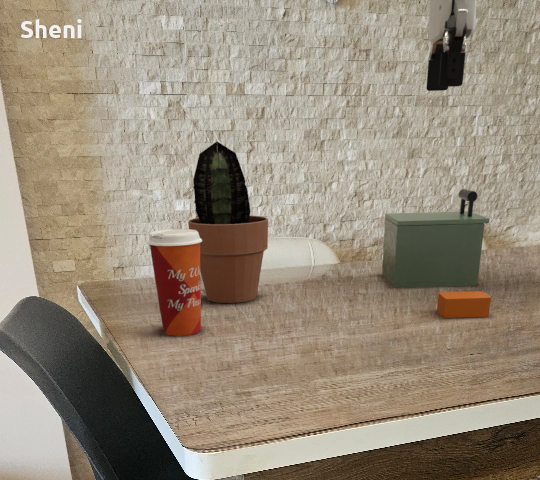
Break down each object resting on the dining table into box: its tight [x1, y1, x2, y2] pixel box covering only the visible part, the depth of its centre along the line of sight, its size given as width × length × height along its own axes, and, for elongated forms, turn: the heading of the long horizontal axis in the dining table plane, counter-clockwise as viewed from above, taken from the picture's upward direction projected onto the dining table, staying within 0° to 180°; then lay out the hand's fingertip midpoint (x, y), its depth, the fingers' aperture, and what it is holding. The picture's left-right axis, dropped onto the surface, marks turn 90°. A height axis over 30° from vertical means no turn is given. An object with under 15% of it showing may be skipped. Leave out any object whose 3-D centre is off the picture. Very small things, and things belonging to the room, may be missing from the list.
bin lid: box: [384, 188, 490, 226], centre depth 123 cm, size 16×13×5 cm
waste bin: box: [381, 217, 486, 289], centre depth 126 cm, size 16×13×11 cm
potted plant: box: [187, 141, 269, 304], centre depth 113 cm, size 14×14×25 cm
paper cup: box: [146, 228, 202, 337], centre depth 96 cm, size 8×8×14 cm
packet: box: [436, 290, 492, 319], centre depth 104 cm, size 7×4×3 cm, turn 91°
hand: (443, 88), depth 97 cm, fingers open, 9 cm apart
